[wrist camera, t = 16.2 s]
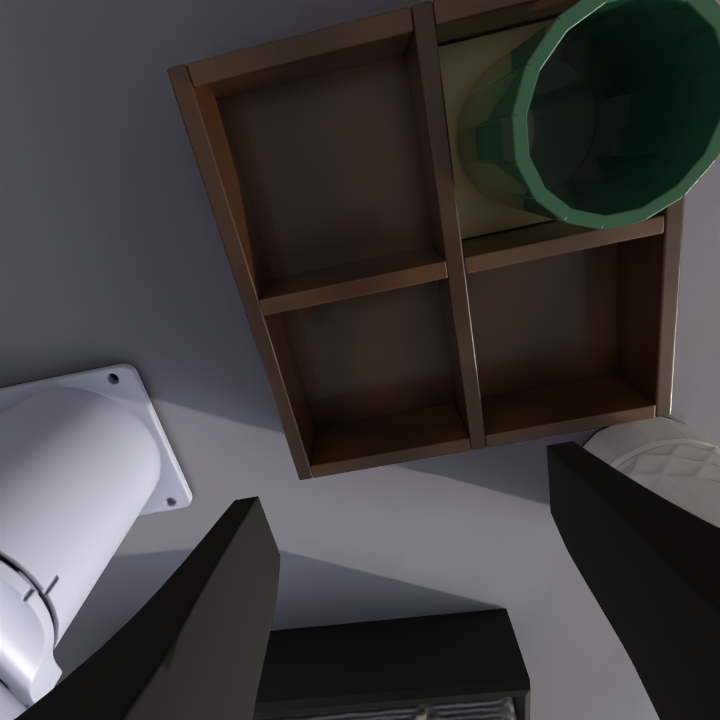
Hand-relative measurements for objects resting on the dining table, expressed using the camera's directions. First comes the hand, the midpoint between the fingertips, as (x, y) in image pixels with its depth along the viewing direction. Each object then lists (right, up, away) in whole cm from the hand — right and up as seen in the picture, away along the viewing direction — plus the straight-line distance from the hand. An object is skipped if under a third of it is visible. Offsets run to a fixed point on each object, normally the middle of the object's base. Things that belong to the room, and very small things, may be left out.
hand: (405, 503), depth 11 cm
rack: (+2, +8, +7) cm, 11 cm away
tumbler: (+5, +12, +5) cm, 14 cm away
